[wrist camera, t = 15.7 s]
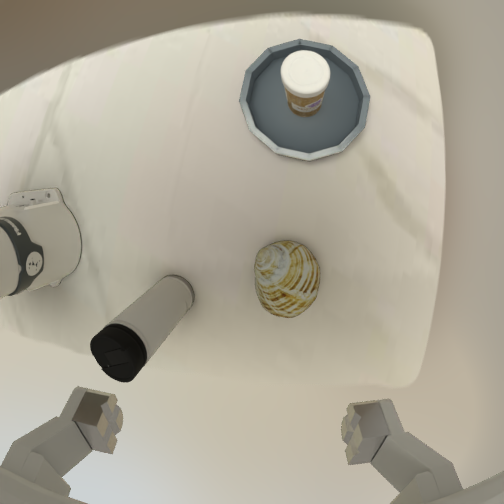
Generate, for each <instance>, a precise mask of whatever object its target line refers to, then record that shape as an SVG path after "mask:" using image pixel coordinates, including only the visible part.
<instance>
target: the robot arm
mask: <svg viewBox="0 0 504 504" xmlns="http://www.w3.org/2000/svg"><path fill="white" fill-rule="evenodd" d="M80 254H81V238H80V233H79V229H78V226H77V223H76V221H75V219H74V217H73V215H72V213H71V212H70V211H69V209H68V208H67V207H66V205H65V204H64V202H63V199H62V196H61V193H60V191H59V190H58V189H57V188H49V189H40V190H31V191H23V192H16V193H12V194H11V195H10V197H9V199H8V203H7V206H4V207H0V299H2V298H3V297H5V296H12V295H15V294H18V293H20V292H22V291H24V290H25V289H26V290H27V291H33V290H35V289H38V288H41V287H43V286H46V285H48V284H49V285H50V286H52V287H55V286H58V285H59V283H60V282H61V280H62V278H63V277H65V276H67V275H69V274H70V273H72V272H73V271H74V270H75V268H76V266H77V265H78V262H79V259H80ZM116 403H117V398H116V396H115V394H110V393H106V392H101V391H96V390H92V389H88V388H83V387H79V386H78V387H76V388H75V389H74V390H73V392H72V394H71V396H70V398H69V400H68V401H67V403H66V405H65V407H64V409H63V411H62V413H61V415H60V417H55V418H53V419H51V420H49V421H48V422H46V423H44V424H43V425H41V426H39V427H38V428H36V429H34V430H33V431H31V432H29V433H28V434H26V435H24V436H23V437H21V438H19V439H17V440H16V441H14V442H13V443H12V445H11V447H10V449H9V451H8V453H7V455H6V457H5V459H4V461H3V463H2V465H1V466H0V504H87V503H84V502H81V501H78V500H75V499H72V498H70V497H68V496H69V492H70V490H71V488H70V486H69V485H68V484H67V483H66V482H65V481H64V479H63V478H62V477H63V476H64V475H65V474H66V473H67V472H68V471H70V470H71V469H72V468H73V467H74V466H76V465H77V464H78V463H79V462H80V461H81V460H82V459H84V458H85V457H86V456H87V455H88V454H89V453H91V452H92V450H95V451H100V452H104V453H109V454H113V451H114V448H115V445H116V442H117V439H116V437H115V435H116V434H117V433H119V432H120V431H121V428H122V424H123V414H122V410H121V408H120V407H119V406H117V405H116ZM347 413H348V414H347V415H346V416H345V417H344V418H343V421H342V426H341V432H342V439H343V441H344V442H345V443H346V444H347V445H348V446H347V448H346V450H345V452H346V456H347V461H348V465H353V464H362V463H369V462H371V464H372V465H373V467H375V468H376V469H377V470H378V472H379V473H381V475H382V476H383V477H384V478H386V480H387V481H389V482H390V483H391V484H392V485H393V486H394V487H395V488H396V489H397V490H398V491H399V492H400V494H399V495H398V496H397V497H396V498H395V499H394V500H393V501H392V502H391V503H390V504H504V471H502V472H500V473H498V474H496V475H495V476H492V477H490V478H488V479H486V480H484V481H482V482H480V483H477V484H475V485H473V486H471V487H468V488H466V489H463V488H462V486H461V483H460V481H459V478H458V476H457V473H456V471H455V469H454V466H453V464H452V462H450V461H449V460H447V459H446V458H444V457H443V456H442V455H440V454H439V453H437V452H436V451H434V450H433V449H432V448H430V447H429V446H427V445H425V444H424V443H423V442H422V441H420V440H419V439H418V438H416V437H415V436H413V435H412V434H411V433H409V432H404V429H403V427H402V424H401V422H400V419H399V417H398V414H397V412H396V410H395V407H394V405H393V402H392V400H390V399H383V400H373V401H365V402H357V403H350V404H349V405H348V408H347Z"/></svg>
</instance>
